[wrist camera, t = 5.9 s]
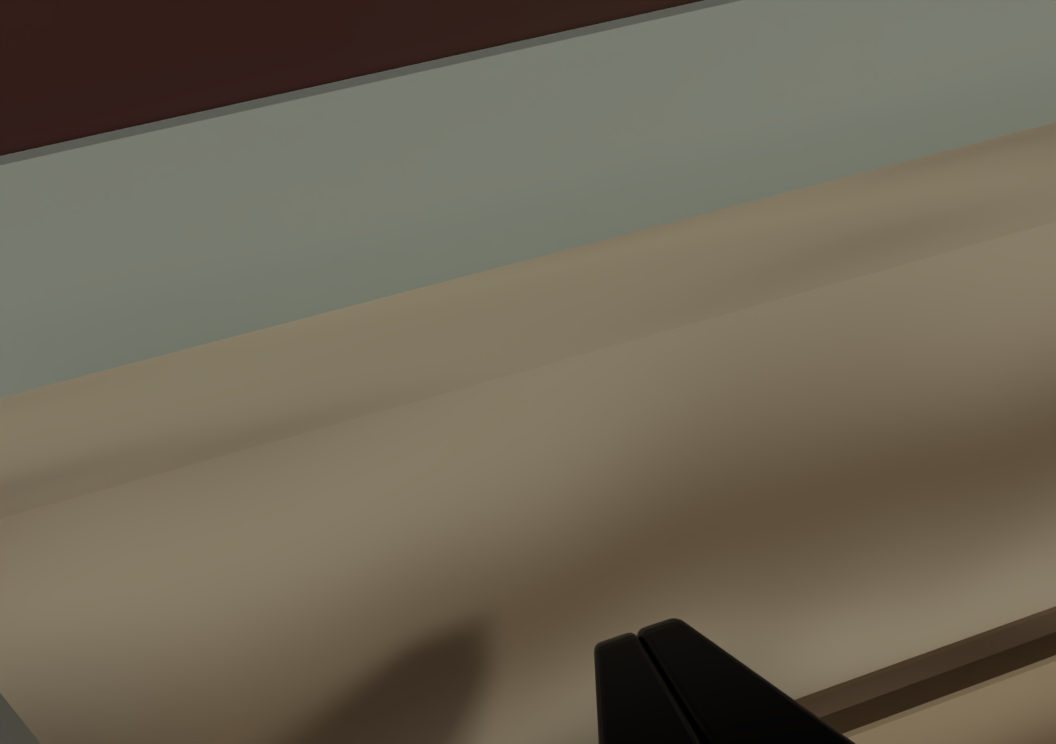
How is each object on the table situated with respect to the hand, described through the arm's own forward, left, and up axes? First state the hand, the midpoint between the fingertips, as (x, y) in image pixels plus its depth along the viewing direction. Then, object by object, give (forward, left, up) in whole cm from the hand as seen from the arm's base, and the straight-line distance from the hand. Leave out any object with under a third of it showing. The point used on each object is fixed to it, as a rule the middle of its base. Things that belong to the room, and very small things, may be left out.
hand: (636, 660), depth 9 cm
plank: (-2, -6, -4) cm, 8 cm away
